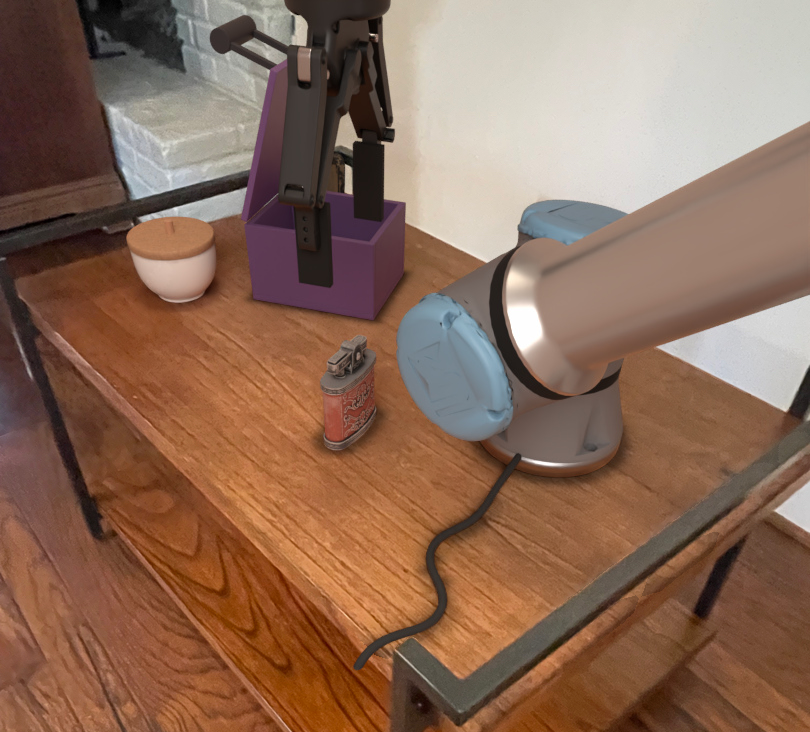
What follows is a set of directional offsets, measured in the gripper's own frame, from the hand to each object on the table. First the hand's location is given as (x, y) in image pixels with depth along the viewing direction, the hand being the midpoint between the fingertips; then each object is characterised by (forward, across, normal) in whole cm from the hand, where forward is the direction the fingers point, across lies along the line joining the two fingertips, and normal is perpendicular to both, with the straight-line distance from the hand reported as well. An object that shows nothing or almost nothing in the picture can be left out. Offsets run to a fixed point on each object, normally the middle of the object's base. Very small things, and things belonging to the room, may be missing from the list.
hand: (344, 249), depth 66 cm
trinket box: (+20, +21, +31) cm, 42 cm away
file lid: (+1, +29, +18) cm, 34 cm away
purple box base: (+20, +29, +13) cm, 37 cm away
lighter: (+20, 0, 0) cm, 20 cm away
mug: (+20, +44, +19) cm, 52 cm away
